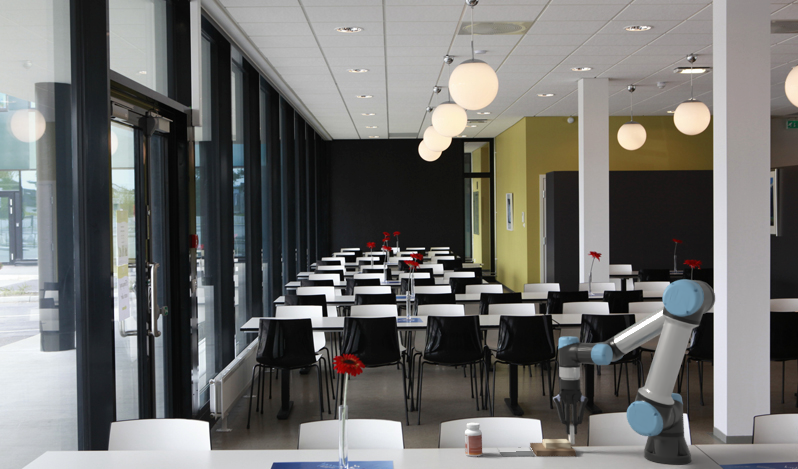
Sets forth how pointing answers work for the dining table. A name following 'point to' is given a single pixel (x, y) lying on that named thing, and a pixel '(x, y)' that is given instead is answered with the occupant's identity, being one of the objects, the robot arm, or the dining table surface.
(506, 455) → the grey square plate
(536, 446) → the board
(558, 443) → the birch tile
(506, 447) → the dining table surface
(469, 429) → the pill bottle
